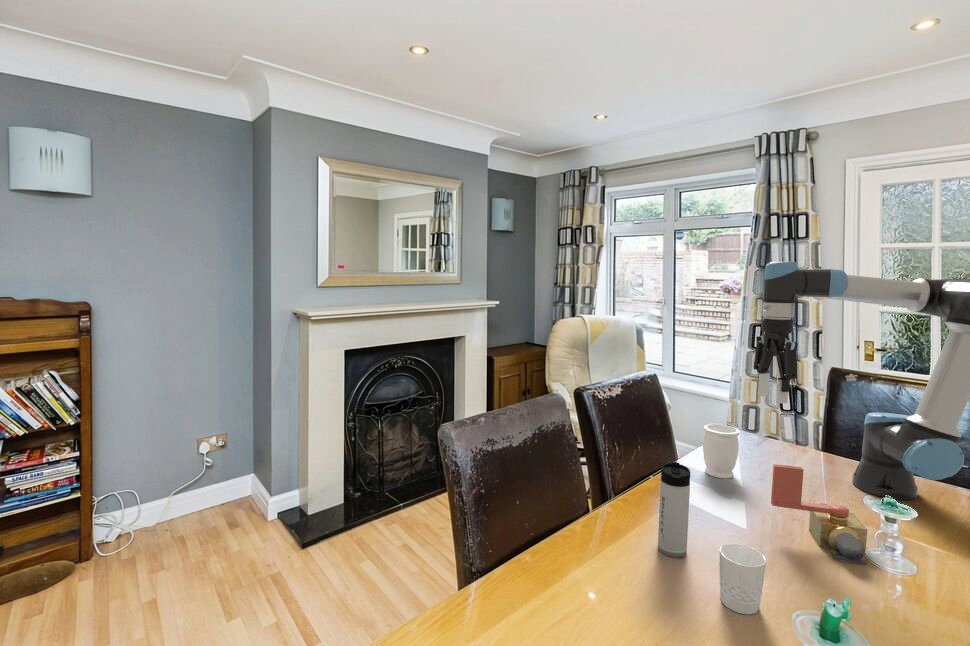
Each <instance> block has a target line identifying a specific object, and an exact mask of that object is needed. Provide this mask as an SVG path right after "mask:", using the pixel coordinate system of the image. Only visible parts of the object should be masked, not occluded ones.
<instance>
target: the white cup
mask: <svg viewBox="0 0 970 646" xmlns="http://www.w3.org/2000/svg"><path fill="white" fill-rule="evenodd" d="M766 562H767V560H766V557H765V556H764V554H763V553H761V552H760V551H759V550H757V549H755V548H752V547H750V546H748V545H745V544H740V543H724V544H722V545H721V546H720V548H719V587H720V590H719V591H720V593H719V595H720V597H719V598H720V602H721V603H722V604H723V605H724V607H726V608H728V609H729V610H731V611H733V612H735V613H739V614H741V615H750V616H751V615H754V614H757V612H758V611H759V610H760V607H761V606H760V605H761V597H762V593H763V588H764V579H765V570H766Z"/></svg>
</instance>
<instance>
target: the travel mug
mask: <svg viewBox="0 0 970 646" xmlns="http://www.w3.org/2000/svg"><path fill="white" fill-rule="evenodd" d="M660 472H661V473H660V476H661V477H660V484H659V485H660V486H659V487H660V489H659V507H658V512H659V513H658V534H657V535H658V536H657V550H658V551H659V552H660V553H661V554H662V555H665V556H667V557H670V558H675V559H676V558H677V559H678V558H679V559H680V558H683V557H686V555H687V551H688V532H689V531H688V528H689V512H690V511H689V510H690V495H691V494H690V489H691V470H690V468H688V467H687V466H685V465H682V464H680V462H677V461H671V462H669V463H665V464H662V465H661V471H660Z"/></svg>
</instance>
